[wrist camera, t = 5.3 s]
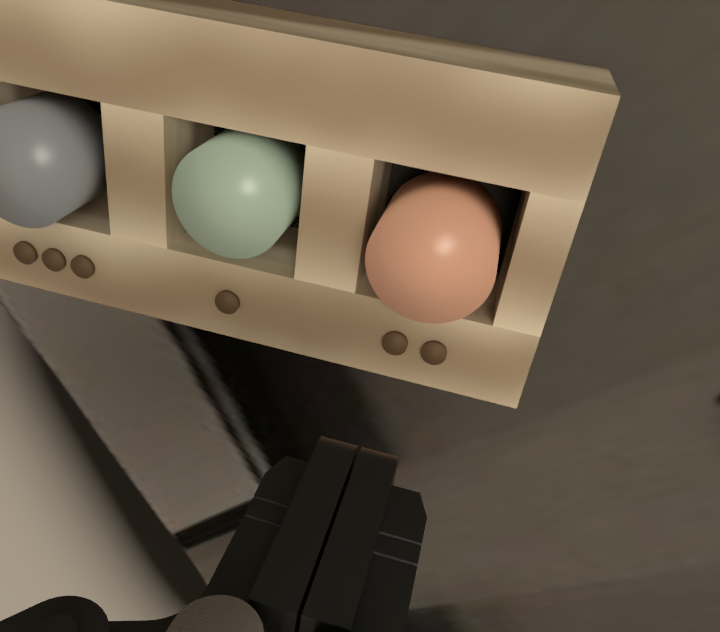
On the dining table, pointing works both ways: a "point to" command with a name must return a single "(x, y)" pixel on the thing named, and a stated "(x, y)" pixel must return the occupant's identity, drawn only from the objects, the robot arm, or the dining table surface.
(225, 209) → the sage button
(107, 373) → the dining table surface
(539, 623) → the dining table surface
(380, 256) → the terracotta button
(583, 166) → the button panel
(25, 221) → the slate button
